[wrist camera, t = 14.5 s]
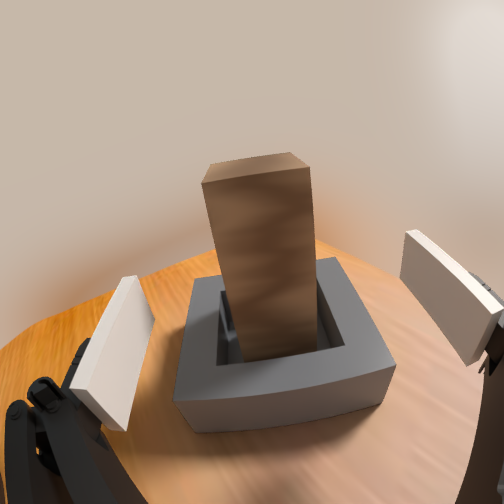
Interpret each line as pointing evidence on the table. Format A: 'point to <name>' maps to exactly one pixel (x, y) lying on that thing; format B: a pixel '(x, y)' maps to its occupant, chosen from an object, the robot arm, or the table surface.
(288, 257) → the walnut block
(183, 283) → the table surface
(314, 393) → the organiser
